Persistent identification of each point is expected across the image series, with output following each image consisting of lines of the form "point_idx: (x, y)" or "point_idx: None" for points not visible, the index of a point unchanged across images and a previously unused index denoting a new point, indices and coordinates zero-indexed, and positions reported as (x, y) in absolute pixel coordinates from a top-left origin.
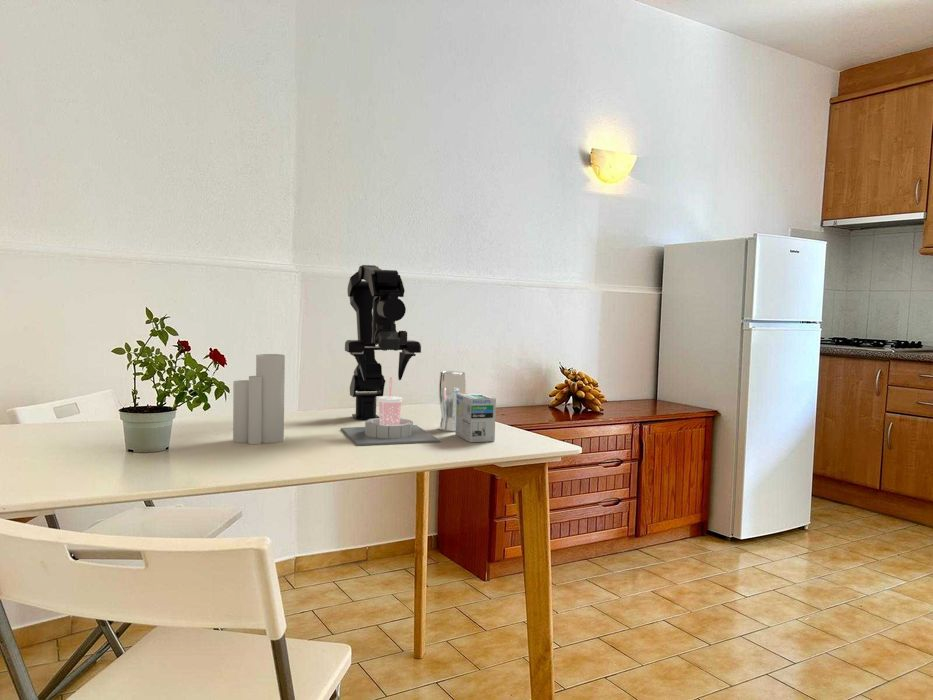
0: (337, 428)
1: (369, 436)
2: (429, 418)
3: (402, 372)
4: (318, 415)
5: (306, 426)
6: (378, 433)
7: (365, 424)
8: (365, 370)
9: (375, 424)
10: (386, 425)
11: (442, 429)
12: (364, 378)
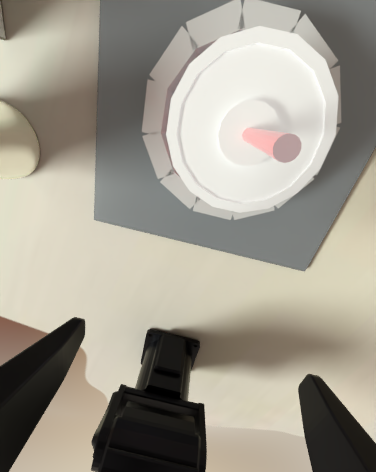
0: (299, 285)
1: None
2: (31, 294)
3: (30, 356)
4: (246, 399)
5: (347, 331)
6: None
7: None
8: (364, 457)
9: None
10: (303, 35)
11: (33, 133)
12: (327, 386)
